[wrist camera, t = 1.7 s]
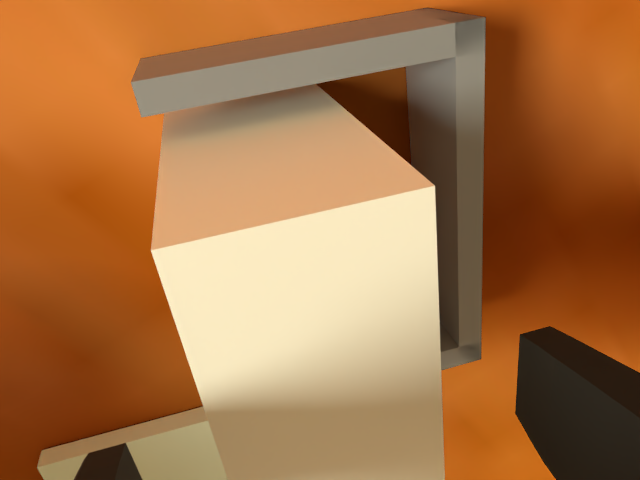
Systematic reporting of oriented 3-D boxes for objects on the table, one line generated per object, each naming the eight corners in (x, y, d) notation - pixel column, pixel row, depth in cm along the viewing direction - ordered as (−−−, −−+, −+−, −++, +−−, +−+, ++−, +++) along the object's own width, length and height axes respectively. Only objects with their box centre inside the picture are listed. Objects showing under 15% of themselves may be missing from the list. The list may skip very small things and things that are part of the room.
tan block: (224, 324, 20) (255, 562, 12) (164, 109, 16) (151, 250, 8) (342, 294, 20) (445, 501, 12) (312, 80, 16) (435, 186, 9)
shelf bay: (226, 358, 20) (235, 427, 17) (141, 58, 15) (130, 82, 12) (438, 303, 21) (481, 359, 18) (427, 7, 16) (485, 17, 13)
